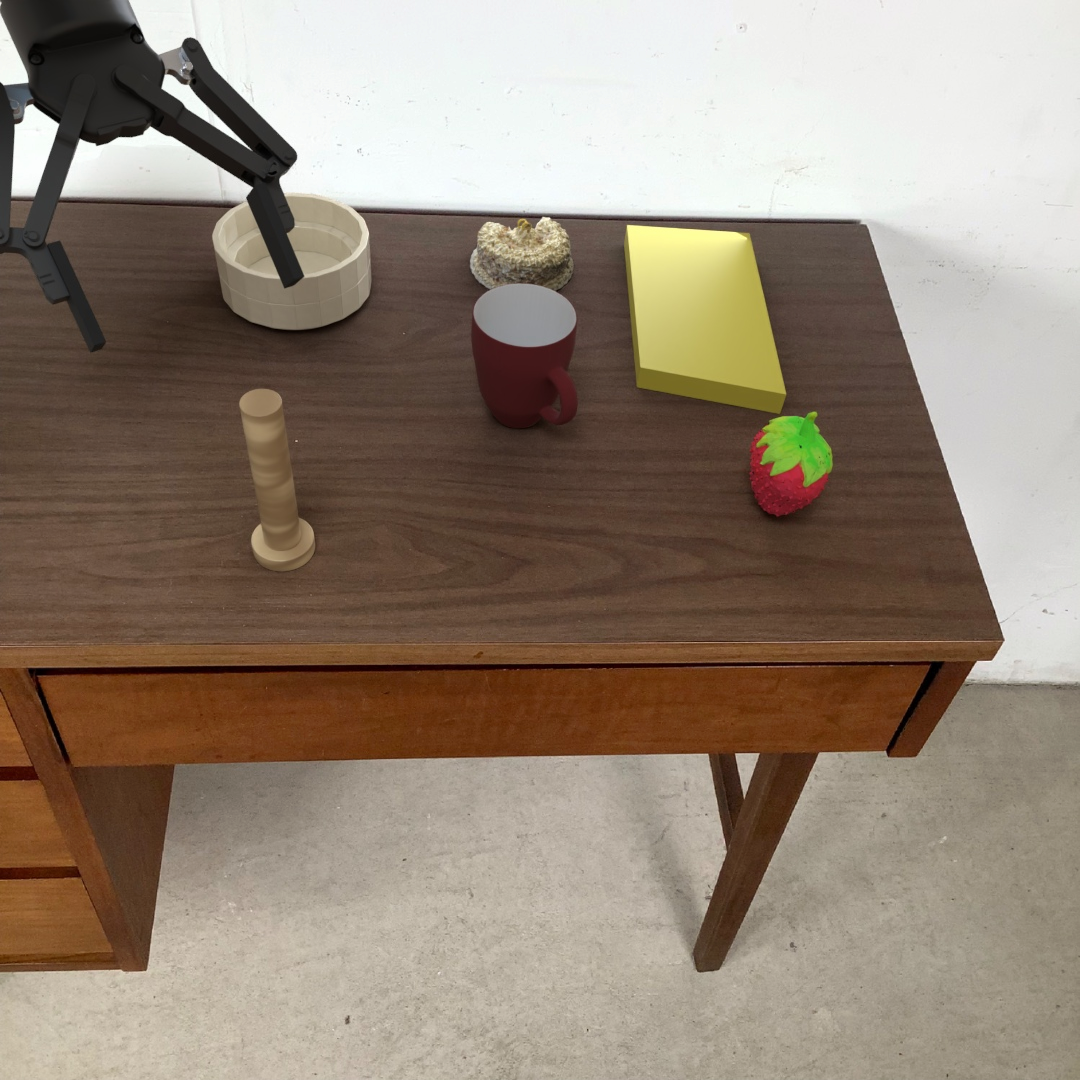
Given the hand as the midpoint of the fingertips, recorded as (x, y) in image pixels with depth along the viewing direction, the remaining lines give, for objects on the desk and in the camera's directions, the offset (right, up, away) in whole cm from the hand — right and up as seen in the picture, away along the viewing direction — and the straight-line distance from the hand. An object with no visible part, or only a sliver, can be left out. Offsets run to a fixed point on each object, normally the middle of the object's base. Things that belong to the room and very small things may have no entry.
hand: (200, 314), depth 70 cm
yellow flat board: (+37, +5, +28) cm, 47 cm away
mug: (+21, -5, +18) cm, 28 cm away
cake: (+21, +11, +32) cm, 40 cm away
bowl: (0, +8, +27) cm, 28 cm away
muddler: (+4, -15, +7) cm, 17 cm away
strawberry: (+41, -12, +14) cm, 45 cm away
